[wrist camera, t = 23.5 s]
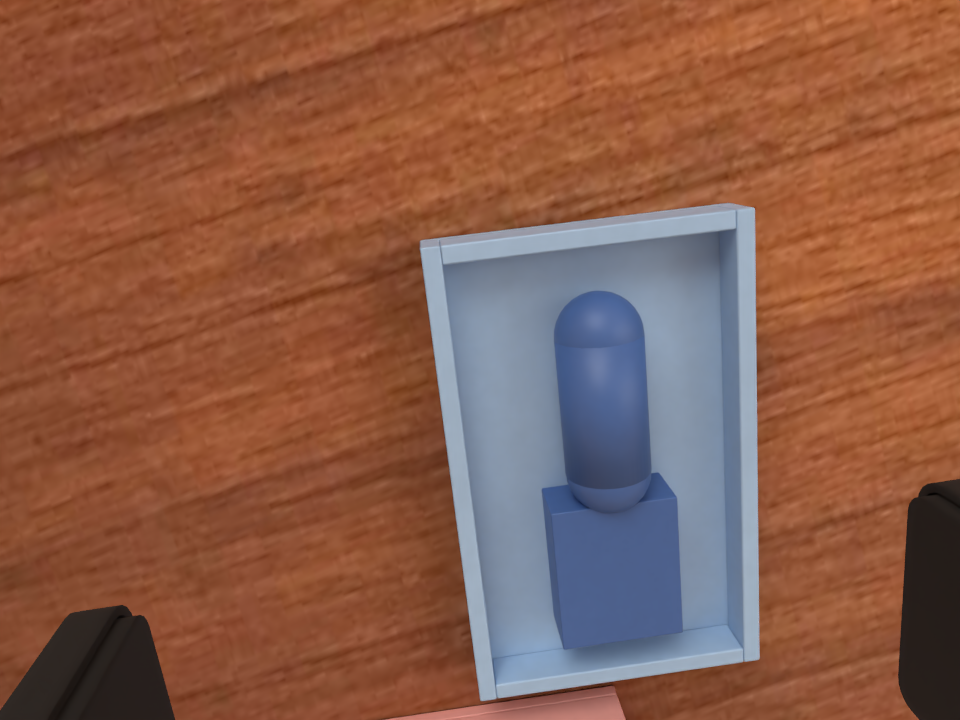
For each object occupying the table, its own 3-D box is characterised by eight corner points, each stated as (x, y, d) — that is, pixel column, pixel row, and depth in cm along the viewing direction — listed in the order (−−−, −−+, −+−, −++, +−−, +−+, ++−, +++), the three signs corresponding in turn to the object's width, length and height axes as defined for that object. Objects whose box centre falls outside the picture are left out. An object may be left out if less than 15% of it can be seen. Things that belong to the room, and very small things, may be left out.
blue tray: (476, 665, 29) (480, 702, 27) (419, 240, 24) (419, 248, 22) (738, 626, 29) (760, 660, 27) (729, 202, 25) (756, 207, 23)
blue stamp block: (521, 291, 25) (534, 309, 22) (649, 276, 25) (677, 291, 22) (553, 615, 28) (567, 665, 25) (665, 599, 28) (691, 647, 25)
